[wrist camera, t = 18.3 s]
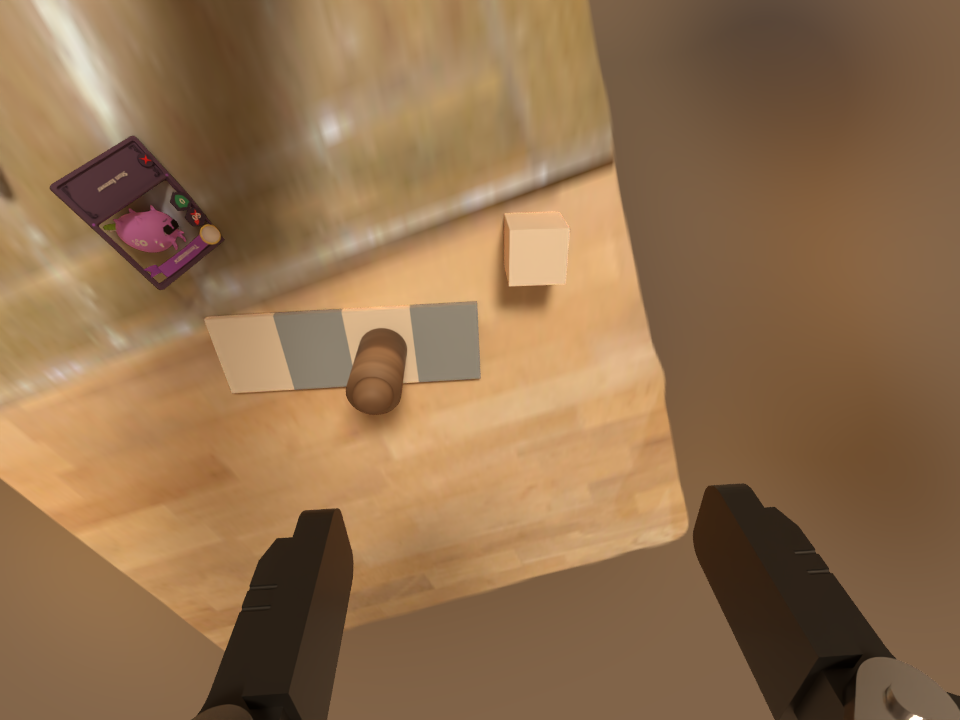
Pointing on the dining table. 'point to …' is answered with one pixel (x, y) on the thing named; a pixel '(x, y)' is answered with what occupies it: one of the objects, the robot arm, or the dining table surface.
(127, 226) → the game card
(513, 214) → the cube
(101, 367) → the dining table surface
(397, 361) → the brown cylinder
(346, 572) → the robot arm
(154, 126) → the dining table surface
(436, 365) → the board
